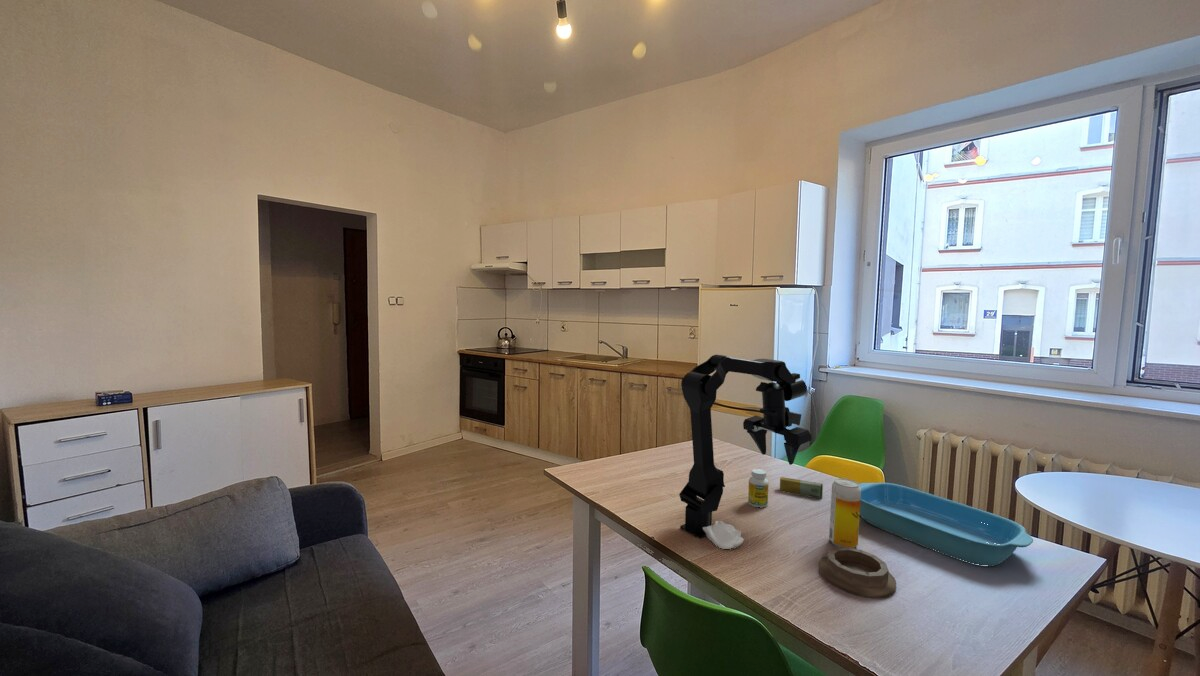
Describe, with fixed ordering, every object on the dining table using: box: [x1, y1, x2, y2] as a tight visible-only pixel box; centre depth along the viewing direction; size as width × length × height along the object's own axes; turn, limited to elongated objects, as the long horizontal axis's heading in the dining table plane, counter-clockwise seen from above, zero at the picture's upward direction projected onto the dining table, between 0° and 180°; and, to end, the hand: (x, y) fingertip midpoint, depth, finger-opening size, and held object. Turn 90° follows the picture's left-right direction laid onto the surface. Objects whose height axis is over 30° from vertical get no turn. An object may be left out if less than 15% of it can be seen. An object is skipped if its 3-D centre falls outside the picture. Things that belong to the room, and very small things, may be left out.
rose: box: [702, 520, 744, 550], centre depth 110 cm, size 10×4×10 cm
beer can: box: [828, 477, 861, 549], centre depth 109 cm, size 6×6×15 cm
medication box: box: [779, 476, 824, 500], centre depth 139 cm, size 12×3×4 cm, turn 63°
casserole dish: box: [859, 482, 1034, 567], centre depth 115 cm, size 37×22×7 cm, turn 34°
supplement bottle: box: [747, 468, 770, 509], centre depth 131 cm, size 5×5×10 cm
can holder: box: [818, 547, 897, 599], centre depth 96 cm, size 14×14×4 cm
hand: (777, 459), depth 127 cm, fingers open, 9 cm apart
